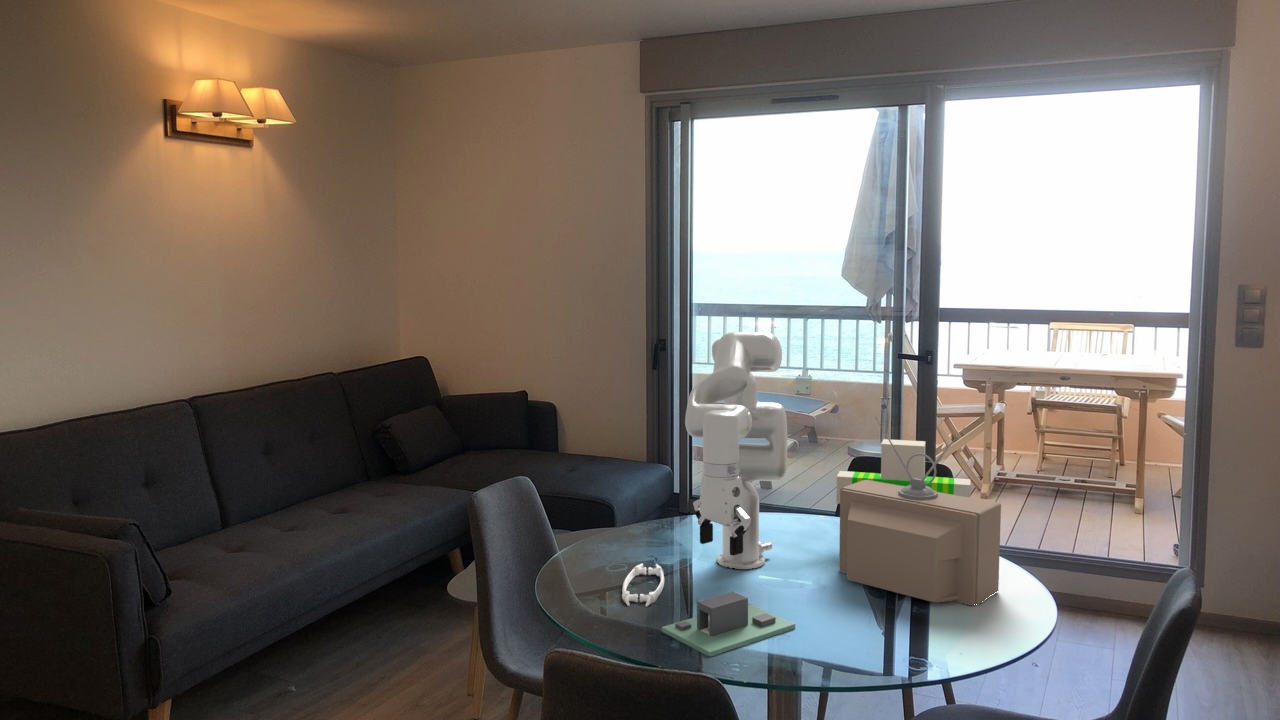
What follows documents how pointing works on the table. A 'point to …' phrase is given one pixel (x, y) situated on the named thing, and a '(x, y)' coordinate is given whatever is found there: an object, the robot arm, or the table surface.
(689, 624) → the board
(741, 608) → the block
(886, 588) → the television
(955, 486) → the toy
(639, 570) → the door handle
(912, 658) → the table surface
